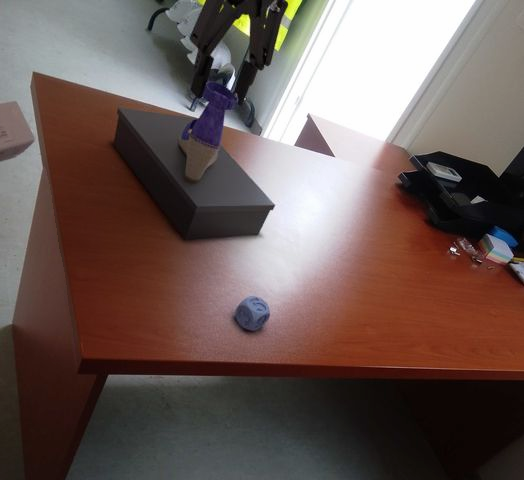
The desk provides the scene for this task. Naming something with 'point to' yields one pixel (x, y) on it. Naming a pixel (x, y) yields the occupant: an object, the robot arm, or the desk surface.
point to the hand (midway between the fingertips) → (217, 97)
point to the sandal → (206, 131)
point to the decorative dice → (252, 313)
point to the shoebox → (183, 191)
